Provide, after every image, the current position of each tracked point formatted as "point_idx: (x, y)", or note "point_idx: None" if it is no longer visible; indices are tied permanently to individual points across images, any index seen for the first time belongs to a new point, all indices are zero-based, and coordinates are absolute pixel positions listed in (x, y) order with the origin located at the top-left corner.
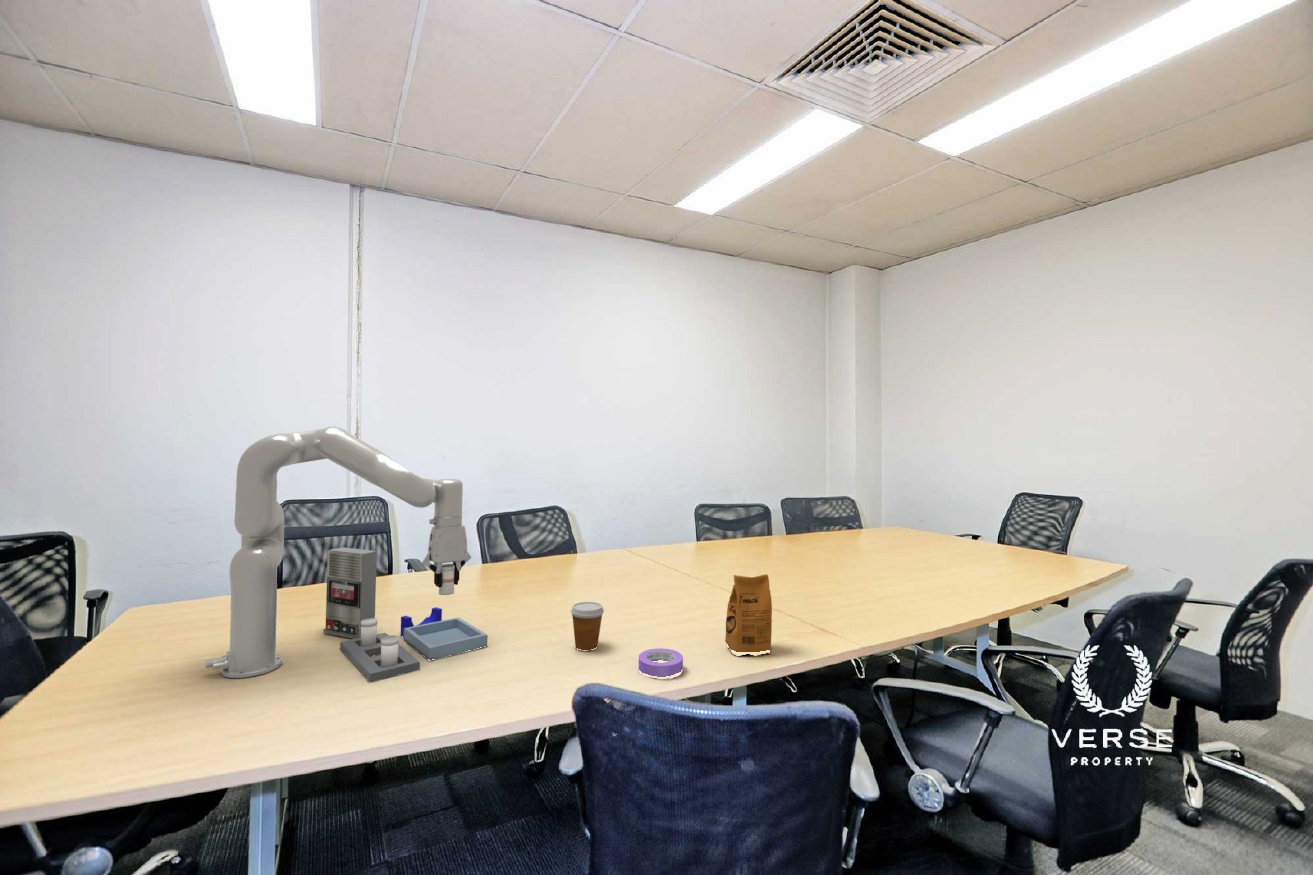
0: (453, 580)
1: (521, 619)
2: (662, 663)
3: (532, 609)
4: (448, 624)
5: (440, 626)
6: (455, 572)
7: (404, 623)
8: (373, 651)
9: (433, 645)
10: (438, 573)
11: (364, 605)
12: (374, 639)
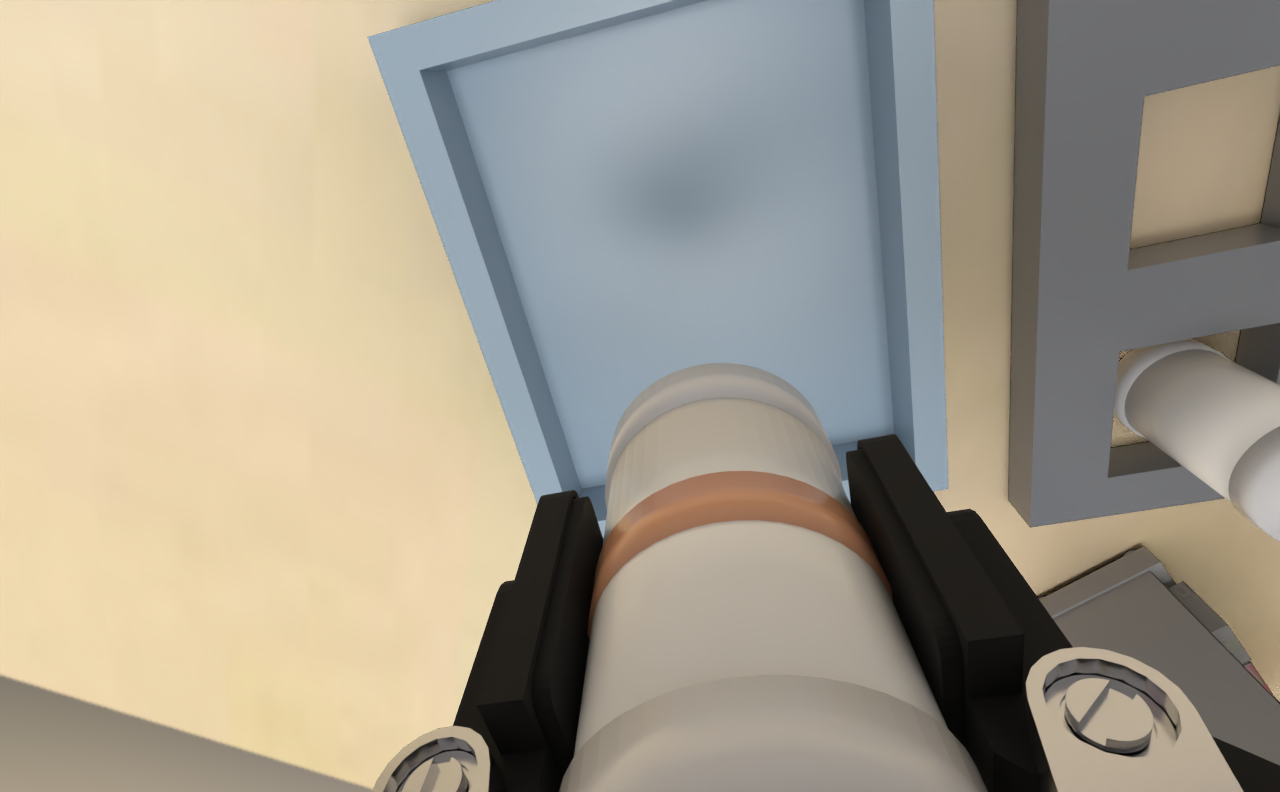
0: (620, 530)
1: (164, 501)
2: None
3: (104, 630)
4: None
5: None
6: (554, 683)
7: None
8: (1212, 244)
9: (791, 209)
10: (1063, 656)
11: (1273, 749)
12: (1187, 379)
